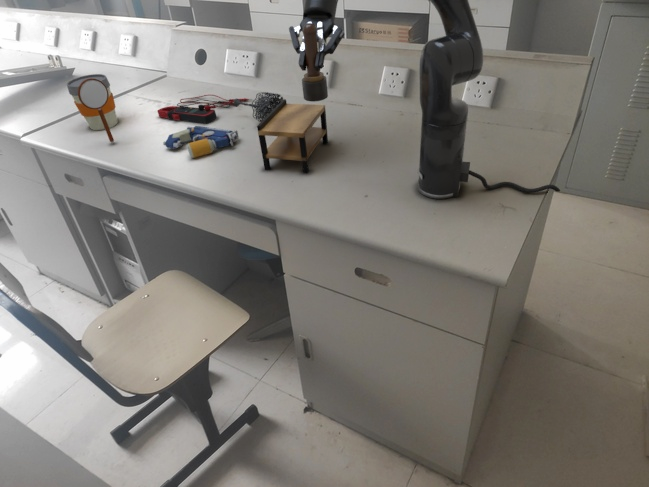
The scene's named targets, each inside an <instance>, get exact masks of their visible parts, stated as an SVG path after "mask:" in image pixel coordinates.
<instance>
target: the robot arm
mask: <svg viewBox="0 0 649 487" xmlns="http://www.w3.org/2000/svg"><path fill="white" fill-rule="evenodd" d="M429 2H431V3H430V4H432V5H433V6H434V8H435V10H436V11H437V13H438V15H439V17H440V20H441V23H442V26H443V29H444V33H445V35H444V36H439V37H435V38H432V39H429V40H428V41H427V42H425V44H424V46H423V47H422V50H421V53H420V56H419V69H418V70H419V71H418V72H419V104H420V107H421V108H420V109H421V124H420V125H421V128H420V145H419V146H420V148H419V164H418V166H419V167H418V168H417V170H416V171H417V172H416V173H417V175H418V182H417V190H418V192H419V193H420V194H421V195H423V196H424V197H427V198H430V199H437V200H443V199H444V200H445V199H449V198H450V199H451V198H453V197H455V198H457V197H459V195H460V194H459V192H460V189H461V183H468V182H469V177H470V176H472V177H473V178H476V179H478V180H480V181H481V183H482V186H483V187H484V189H486V190H489V191H490V190H495V189H498V188H501V187H511V188H513V189H516V190H518V191H521V192H524V193H528V194H534V193H540V192H542V191H546V190H553V191H554V192H560V191H561V190H560V188H559V187H558V186H557V185H554V184H545V185H542V186H539V187H535V188H527V187H525V186H521V185H519V184H517V183H515V182H511V181H501V182H498V183H495V184H492V185H489V184H488V182H487V179H486V178H485V177H484V176H482V175H481V174H479V173H477V172H475V171H473V170H470V168H471V167H470V166H471V162H470V161H464V152H465V143H466V132H467V125H468V115H469V106H468V103H467V102H466V101H464V100H462V99H461V98H458V97H454V96H452V93H453V92H452V90H453V86H456V85H460V84H464V83H466V82H470V81H472V80H475V79H476V78H478V76H479V75H480V74H481V72H482V69H483V66H484V50H483V44H482V41H481V40H482V39H481V37H480V33H479V30H478V27H477V24H476V21H475V17H474V15H473V12H472V8H471V5H470V1H469V0H429ZM338 3H339V0H305V1H304V7H303V12H302V20H301V21H300V23H299V25H298V26H295V27H294V26H293V25H291V26H289V27H288V31H289V35H290V39H291V42H292V47H293V49H294V50H295V52H296V54H298V55H299V58H298V66H299V68H300V70H301V71H302V72H304V71H306V72H307V65H306V55H305V46H304V36H302V38H301V39H302V42H301V43H300V39H299V38H300V36H301V32H302V33H303V27H304V25H305V24H307V23H312V24H314V25H315V27H316V29H317V33H316V34H317V45H318V52H317V56H316V62H315V69H316V70H317V71H320V72H321V69H323V68H324V63H325V58H326V56H327V55H333V54H334V52H335V51H336V50H337V48H338V47H339V45H340V42H342V40H343V38H344V36H345V31H344V28H343V27H342V26H341V25H338V26H337V25H336V24H335V20H336V13H337V8H338ZM330 36H331V37H330ZM329 37H330V39H329V41H328V40H327V39H328V38H329ZM327 41H328V42H327ZM469 175H470V176H469Z"/></svg>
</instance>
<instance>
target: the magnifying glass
mask: <svg viewBox="0 0 649 487" xmlns="http://www.w3.org/2000/svg"><path fill="white" fill-rule="evenodd" d="M108 96H109V95H108V90H107V87H106V86H105V85H104V83H102V82H101V81H100V80H98V79H94V78H90V79H86V80H84V81H83V82H82V83H81V84H80V86H79V88H78V97H79V100H80V101H81V103H82V104H83V105H84V106H85V107H87V108H89V109H98V112H99V115H100V117H101V120H102V122H103V125H104V127H105V129H104V130H105V132H106V135H107V137H108V140H109V142H110V143H111V144H112V145H114V144H115V139H114V137H113V134H112V131H111V128H109V126H108V124H107V121H106V119H105V116H104V114H103V111H102V109H101V108H102V107H103V106H104V105H105V104H106V103H107V101H108Z"/></svg>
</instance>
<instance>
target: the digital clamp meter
mask: <svg viewBox="0 0 649 487" xmlns="http://www.w3.org/2000/svg"><path fill="white" fill-rule="evenodd" d="M207 96H211V97H212V96H213V97H216V98H219V99H221V100H222V101H221V100H218V101H217V100H209V99H198V98H202V97H207ZM191 99H196V100H191ZM235 99H236V98H233V99H231V98H230V99H226V98H223V97H221V96H219V95H215V94H203V95H199V96H194V97H186V98H180V100H179V102H178V103H177V104H176V105H172V106H171V105H170V106H165V107H161V108H159V109H158V110H157V115H158V117H159V118H165V119H168V120H174V121H180V122H181V121H182V122H187V123H188V122H190V123H197V124H203V125H204V124H205V125H207V124H210V123H213V122H214V121H215V120H216V119H217V114H216V110H215V109H216V108H217V107H218V108H225V106H226V105H227V108H230V107H231V106H234V100H235ZM238 99H239V101H240V102H246V101H249V100H250V101H253V98H246V97H244V98H238ZM183 100H184V101H183ZM186 100H188V101H186ZM200 101H201V102H200ZM203 101H204V102H203ZM189 103H190V104H189ZM180 104H184V105H180ZM219 104H220V105H219ZM193 105H198V106H197V107H194V106H193Z"/></svg>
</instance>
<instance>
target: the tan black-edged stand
mask: <svg viewBox="0 0 649 487" xmlns="http://www.w3.org/2000/svg"><path fill="white" fill-rule="evenodd" d="M286 103H287V99H285V98H283V100H282V101H281V102H280V103H279V104H278V105H277V106H276V107H275V108H274V109H273V110H272V111H271V112H270V113H269V114H268V115H267V116H266V117H265V119H263V121H262V120H261V121H262V122H259V123H258V124H257V126H256V128H257V134H258V141H259V145H260V151H261V152H260V153H261V156H262V161H263V167H264V170H265V171H270V170H271V163H270V162H271V161H270V159H273V160H275V159H276V160H285V161H286V160H287V161H300V162H301V165H302V173H303V174H309V172H310V167H309V158H310V157H311V155H312V154H313V152H314V150H315V149H316V148H317V146H318V145H319V144H320V142H321V140H322V144H323V145H328V143H329V136H328V128H327V127H328V126H327V125H328V124H327V113H326V105H325V104H308V103H307V104H305V103H302V104H301V103H287V104H286ZM319 118H320V124H321V125H320V126H321V127H320V126H314V125H315V124H316V122H317V121H318V120H319ZM267 136H269V137H276V138H275V139H273V141H272V142H271V143H270V145H269V146H268V145H267V139H266V137H267Z"/></svg>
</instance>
